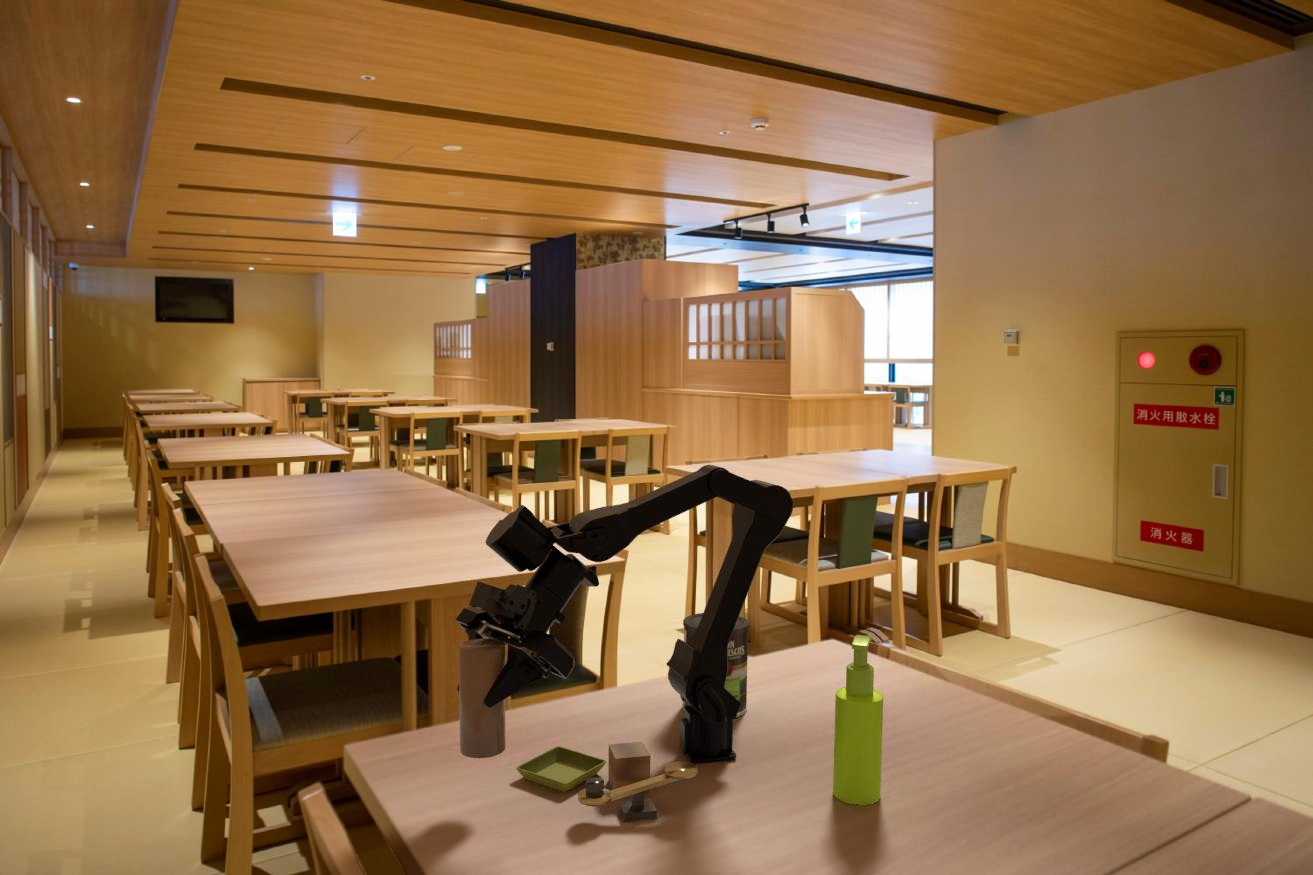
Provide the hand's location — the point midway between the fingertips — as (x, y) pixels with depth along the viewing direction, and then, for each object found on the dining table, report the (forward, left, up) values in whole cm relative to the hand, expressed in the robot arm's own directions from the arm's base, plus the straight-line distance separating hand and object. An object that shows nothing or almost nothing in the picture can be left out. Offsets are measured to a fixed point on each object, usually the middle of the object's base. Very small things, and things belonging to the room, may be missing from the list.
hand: (473, 698), depth 115 cm
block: (-20, -1, -14) cm, 24 cm away
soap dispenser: (-48, +7, -14) cm, 50 cm away
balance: (-19, +6, -13) cm, 24 cm away
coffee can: (-39, -25, -14) cm, 48 cm away
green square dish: (-12, -6, -14) cm, 19 cm away
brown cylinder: (-1, -1, -7) cm, 7 cm away
